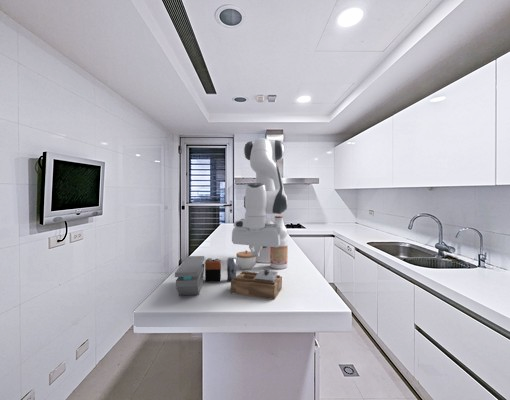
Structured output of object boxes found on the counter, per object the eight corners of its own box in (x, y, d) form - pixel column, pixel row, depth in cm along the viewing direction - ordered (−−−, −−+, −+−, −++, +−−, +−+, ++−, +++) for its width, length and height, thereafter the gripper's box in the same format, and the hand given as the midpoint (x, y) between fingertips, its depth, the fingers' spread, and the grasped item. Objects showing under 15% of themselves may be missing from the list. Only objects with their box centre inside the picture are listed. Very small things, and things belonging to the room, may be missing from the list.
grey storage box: (197, 301, 92) (197, 272, 92) (175, 302, 91) (175, 272, 91) (204, 279, 117) (204, 255, 117) (187, 279, 116) (187, 256, 116)
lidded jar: (233, 269, 132) (233, 252, 131) (239, 264, 142) (239, 248, 142) (253, 271, 129) (253, 253, 129) (258, 265, 139) (258, 249, 139)
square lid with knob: (261, 276, 106) (261, 267, 106) (277, 277, 103) (277, 269, 103) (255, 281, 99) (255, 272, 99) (273, 283, 97) (273, 273, 97)
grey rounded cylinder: (229, 278, 118) (229, 257, 118) (237, 279, 117) (237, 258, 116) (225, 281, 114) (225, 259, 114) (233, 282, 113) (233, 260, 113)
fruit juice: (278, 270, 131) (279, 216, 131) (266, 266, 138) (266, 215, 138) (291, 267, 137) (291, 215, 137) (278, 263, 144) (279, 214, 144)
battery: (206, 278, 117) (206, 257, 117) (220, 278, 118) (220, 257, 117) (204, 282, 113) (204, 259, 113) (220, 281, 113) (220, 259, 113)
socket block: (242, 283, 111) (242, 270, 111) (281, 288, 106) (281, 274, 105) (230, 293, 100) (230, 278, 100) (274, 299, 94) (274, 284, 94)
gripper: (282, 222, 102) (282, 256, 103) (236, 220, 109) (236, 252, 110) (278, 224, 96) (278, 260, 97) (230, 222, 103) (230, 255, 104)
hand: (255, 256), depth 103 cm, fingers closed
